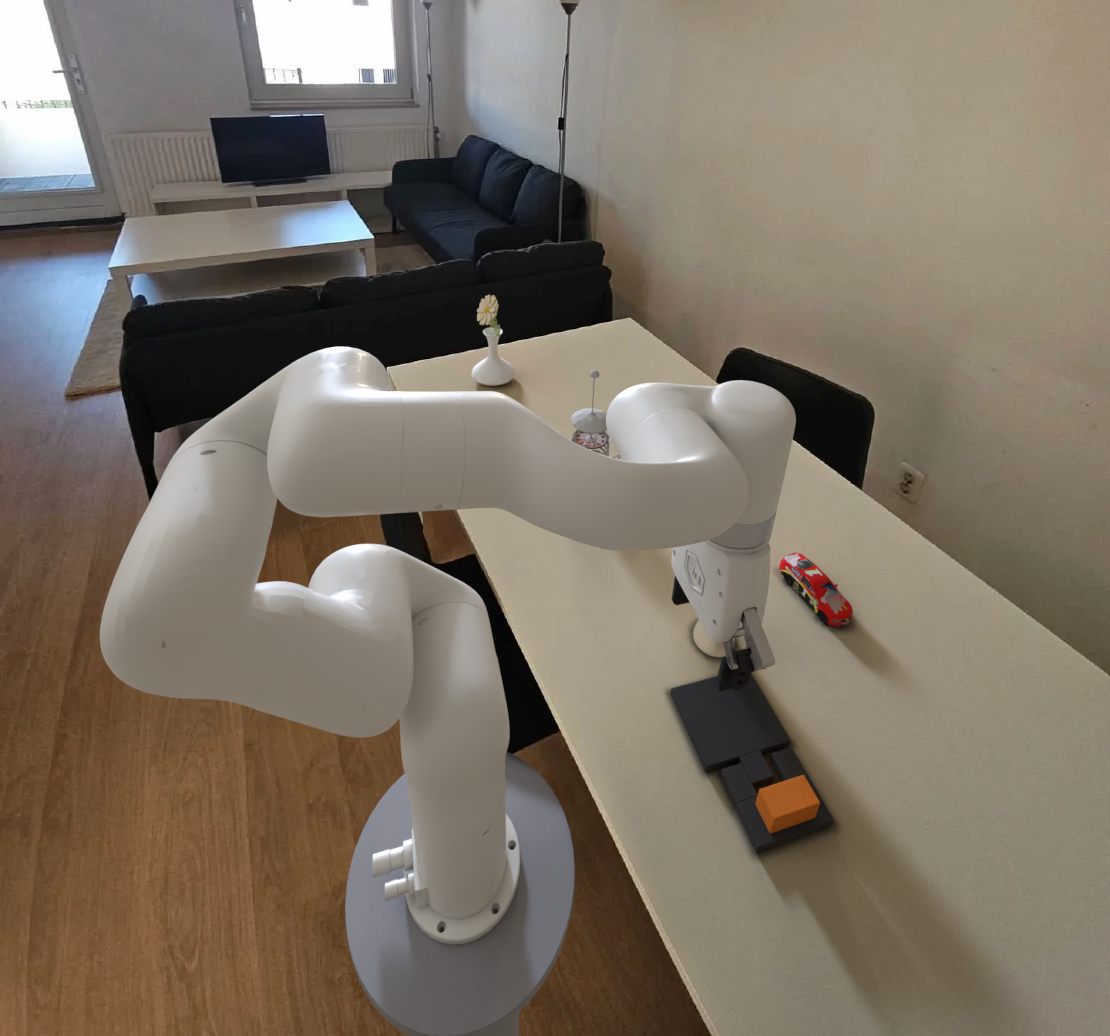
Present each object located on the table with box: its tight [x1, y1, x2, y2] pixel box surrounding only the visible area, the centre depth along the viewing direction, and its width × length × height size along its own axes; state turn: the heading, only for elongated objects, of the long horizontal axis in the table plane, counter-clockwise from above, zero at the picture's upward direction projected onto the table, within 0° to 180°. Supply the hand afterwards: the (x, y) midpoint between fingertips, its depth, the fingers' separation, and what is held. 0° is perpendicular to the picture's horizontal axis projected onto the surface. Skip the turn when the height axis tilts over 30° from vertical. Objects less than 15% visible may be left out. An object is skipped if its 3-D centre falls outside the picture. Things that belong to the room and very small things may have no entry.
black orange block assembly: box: [719, 747, 835, 854], centre depth 71 cm, size 10×8×4 cm
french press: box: [570, 369, 621, 460], centre depth 119 cm, size 10×12×25 cm
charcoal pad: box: [670, 672, 792, 789], centre depth 79 cm, size 12×13×1 cm
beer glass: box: [692, 617, 736, 658], centre depth 88 cm, size 7×7×15 cm
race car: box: [778, 552, 854, 628], centre depth 98 cm, size 13×5×4 cm, turn 21°
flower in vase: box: [471, 294, 516, 387], centre depth 153 cm, size 13×11×25 cm
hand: (707, 639), depth 62 cm, fingers open, 9 cm apart
